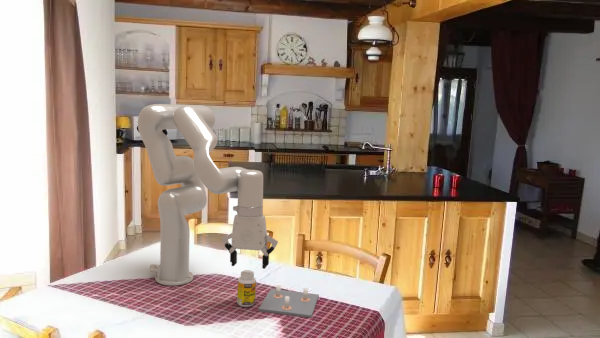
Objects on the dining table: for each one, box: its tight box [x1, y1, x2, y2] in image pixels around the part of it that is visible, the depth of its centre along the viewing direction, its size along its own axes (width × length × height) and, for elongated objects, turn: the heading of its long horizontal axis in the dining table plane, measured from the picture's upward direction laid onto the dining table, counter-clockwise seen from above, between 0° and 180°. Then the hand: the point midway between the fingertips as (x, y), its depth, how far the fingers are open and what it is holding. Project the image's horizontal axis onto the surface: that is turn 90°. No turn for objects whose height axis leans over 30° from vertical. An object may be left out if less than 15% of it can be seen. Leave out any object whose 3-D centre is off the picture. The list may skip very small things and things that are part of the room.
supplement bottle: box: [236, 269, 257, 308], centre depth 153 cm, size 6×6×10 cm
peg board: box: [258, 284, 320, 319], centre depth 155 cm, size 16×16×4 cm
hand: (249, 266), depth 152 cm, fingers open, 9 cm apart
